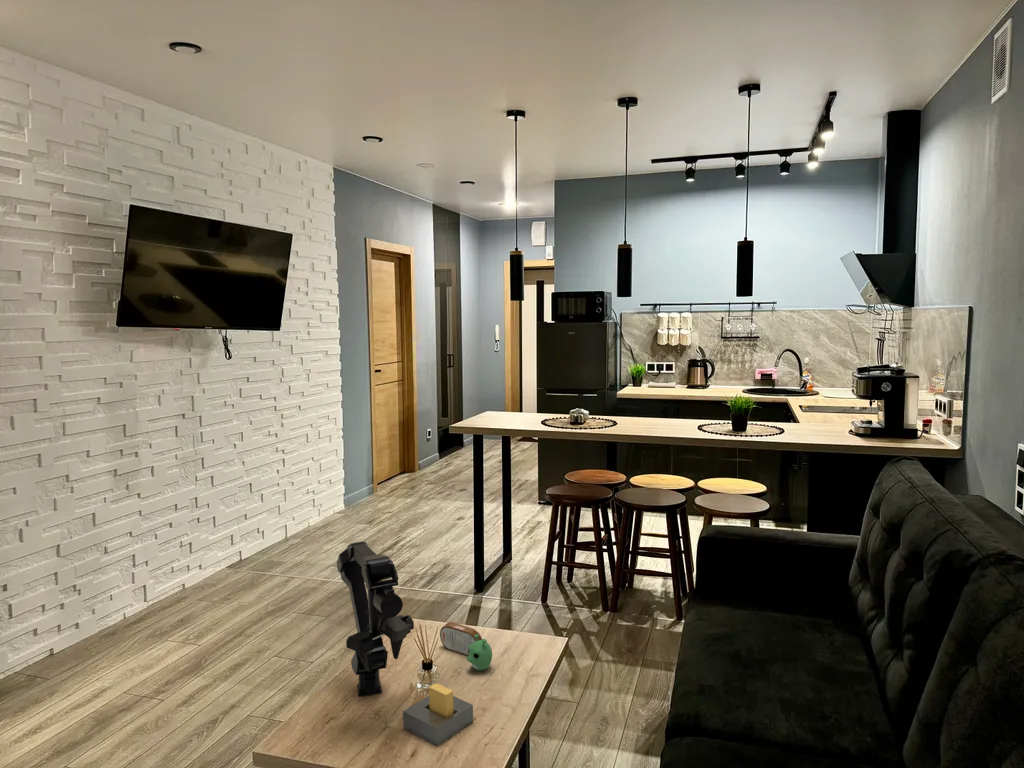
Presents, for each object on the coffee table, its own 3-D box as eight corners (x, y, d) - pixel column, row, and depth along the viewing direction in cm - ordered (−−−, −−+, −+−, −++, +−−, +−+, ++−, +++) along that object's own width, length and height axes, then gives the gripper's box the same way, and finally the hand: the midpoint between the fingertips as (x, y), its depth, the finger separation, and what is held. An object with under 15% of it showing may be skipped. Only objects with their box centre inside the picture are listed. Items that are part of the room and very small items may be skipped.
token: (429, 724, 179) (429, 687, 178) (436, 720, 180) (436, 683, 179) (446, 733, 175) (446, 695, 174) (453, 728, 177) (453, 690, 176)
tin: (483, 656, 214) (483, 629, 213) (477, 660, 211) (477, 633, 211) (444, 644, 222) (444, 618, 221) (438, 648, 219) (438, 622, 219)
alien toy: (462, 668, 207) (461, 635, 206) (483, 660, 211) (483, 628, 210) (475, 678, 201) (474, 645, 200) (497, 670, 206) (496, 637, 205)
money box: (403, 728, 177) (402, 711, 177) (439, 705, 187) (439, 689, 187) (437, 746, 170) (436, 728, 169) (473, 721, 180) (472, 704, 179)
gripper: (373, 623, 170) (376, 686, 171) (427, 600, 185) (430, 659, 185) (343, 614, 177) (346, 675, 177) (397, 593, 192) (400, 650, 192)
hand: (382, 665), depth 183 cm, fingers open, 9 cm apart
